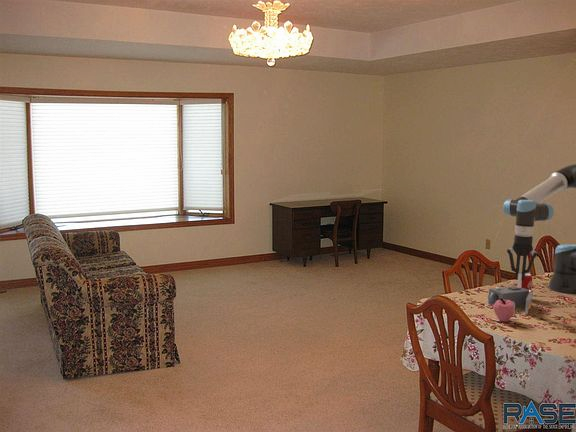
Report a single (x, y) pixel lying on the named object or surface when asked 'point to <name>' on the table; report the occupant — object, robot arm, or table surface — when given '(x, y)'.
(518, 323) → the table surface
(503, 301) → the apple
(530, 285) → the beverage can
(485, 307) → the table surface
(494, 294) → the grey knobbed block
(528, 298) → the side door
